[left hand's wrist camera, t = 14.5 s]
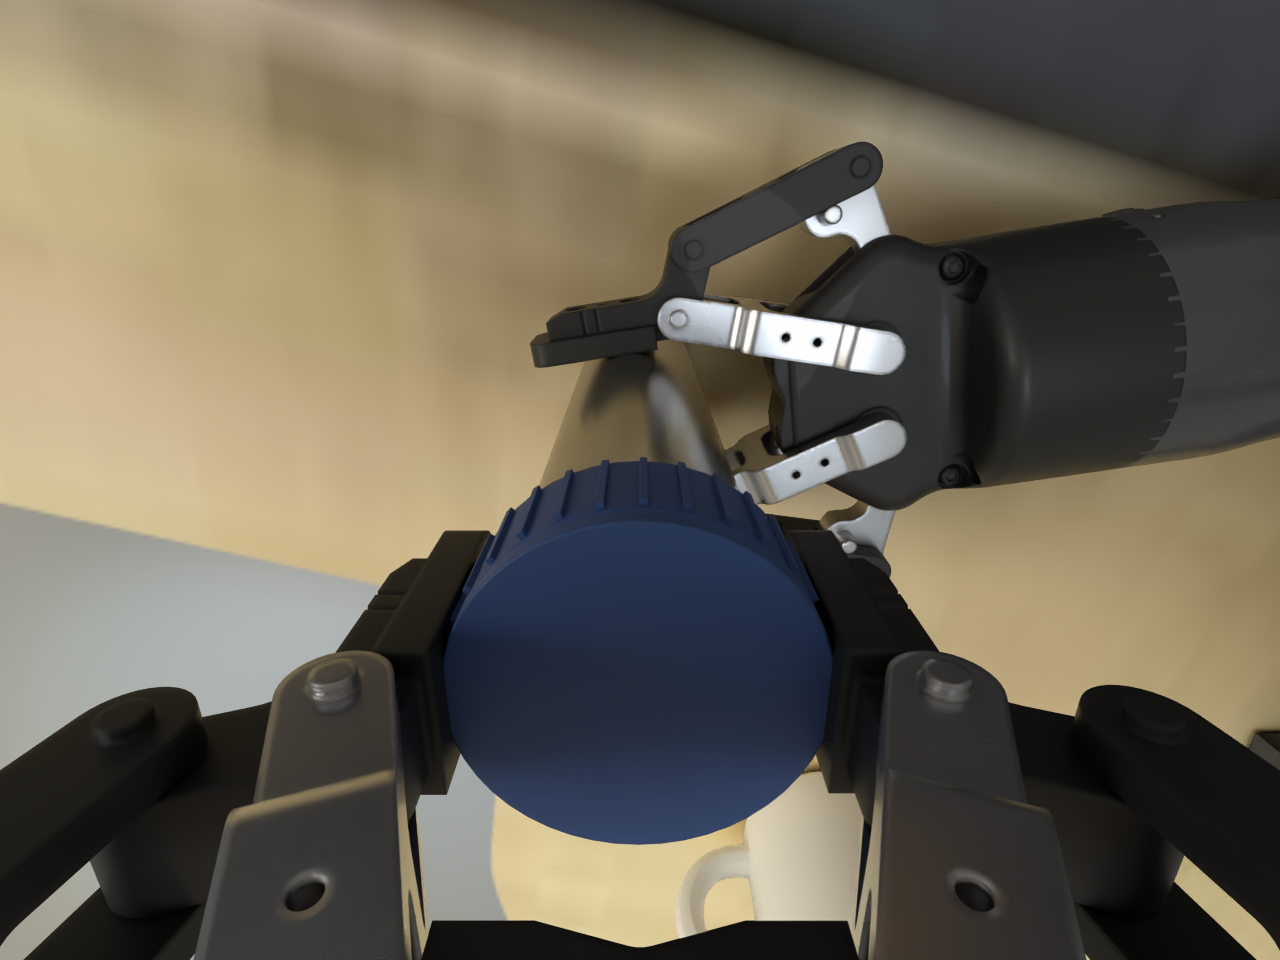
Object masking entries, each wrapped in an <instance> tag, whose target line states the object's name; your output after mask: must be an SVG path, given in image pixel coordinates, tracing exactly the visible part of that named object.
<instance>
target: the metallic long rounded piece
mask: <svg viewBox="0 0 1280 960" xmlns="http://www.w3.org/2000/svg"><path fill="white" fill-rule="evenodd" d="M657 346H658V350H654V351H648V352H641V353H634V354H626V355H620V356H616V357H609V358H603V359H596V360H590V361H584V364H583V367H582V370H581V372H580V375H579V378H578V381H577V383H576V386H575V389H574V392H573V394H572V397H571V400H570V403H569V405H568V408H567V411H566V414H565V416H564V419H563V422H562V425H561V427H560V430H559V433H558V436H557V438H556V441H555V444H554V447H553V449H552V452H551V455H550V458H549V460H548V463H547V466H546V469H545V471H544V474H543V477H542V480H541V482H540V485H539V486H540V487H541V489H542V488H544V487H545V486H547V485H549V484H550V483H552V482H554V481H556V480H558V479H560V478H563V477H564V475H565V472H566V471H568V470H570V469H572V470H573V472H577V471H580V470H583V469H587V468H590V467H593V466H598V465H601V462H602V460H609V463H614V462H628V461H640V457H647V461H649V462H663V463H668V464H674V465H677V463H678V461H680V462H684V463H685V466H686V467H687V468H691V469H694V470H697V471H700V472H703V473H706V474H708V475H710V476H712V475H713V474H714V473H716V474H719V475H720V476H721V479H722V481H723V482H725V483H727V484H729V485H730V486H732V487H733V488H735V489H736V490H738V491H739V488H738V485H737V483H736V480H735V477H734V474H733V472H732V469H731V466H730V463H729V461H728V458H727V455H726V453H725V450H724V447H723V444H722V442H721V439H720V436H719V433H718V431H717V428H716V425H715V423H714V420H713V417H712V414H711V412H710V409H709V406H708V403H707V401H706V398H705V395H704V392H703V390H702V387H701V384H700V382H699V379H698V376H697V373H696V371H695V368H694V365H693V362H692V360H691V357H690V354H689V352H688V349H687V347H686V345H685V343H684V342H681V341H675V340H671V339H668V340H662V341H657ZM739 492H740V491H739Z"/></svg>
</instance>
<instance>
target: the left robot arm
mask: <svg viewBox="0 0 1280 960" xmlns="http://www.w3.org/2000/svg"><path fill="white" fill-rule="evenodd" d="M489 534H491V533H490V532H489V531H445V532H444V533H443V534H442V536H441V537H440V539H439V541H438V542H437V544H436V546H435V547H434V549H433V550H432V552H431V554H430V555H429V557H428V559H412V560H410V561H409V562H407V563H406V564H404V565H403V566H401V567H400V568H398V569H397V570H395V571H394V572H392V573H391V574H390V575H389V576H388V578H387V579H386V580H385V582H384V583H383V585H382V586H381V588H380V589H379V591H378V595H375V596H374V598H373V599H372V601H371V602H370V604H369V605H368V610H365V611H364V612H363V614H362V615H361V617H360V618H359V619H358V621H357V622H356V624H355V625H354V627H353V628H352V630H351V631H350V632H349V634H348V635H347V637H346V638H345V640H344V641H343V643H342V644H341V645H340V647H339V648H338V650H337V651H336V653H333V654H329V655H325V656H322V657H319V658H316V659H314V660H312V661H310V662H307V663H305V664H304V665H302V666H300V667H298V668H297V669H295V670H294V671H292V672H291V673H290V674H289V675H287V676H286V677H285V678H284V679H283V680H282V681H281V683H280V684H279V685H278V687H277V688H276V690H275V692H274V695H273V700H272V702H268V703H265V704H262V705H258V706H254V707H250V708H245V709H240V710H235V711H231V712H225V713H220V714H216V715H211V716H206V717H202V716H201V712H200V709H199V705H198V702H197V700H196V697H195V696H194V695H193V694H192V693H191V692H189V691H187V690H184V689H181V688H175V687H156V688H148V689H143V690H138V691H134V692H131V693H127V694H124V695H121V696H118V697H116V698H113V699H111V700H108V701H106V702H104V703H101V704H99V705H98V706H96V707H94V708H92V709H90V710H88V711H87V712H85V713H83V714H82V715H80V716H79V717H77V718H76V719H74V720H73V721H71V722H70V723H68V724H67V725H66V726H64V727H63V728H61V729H60V730H58V731H57V732H55V733H54V734H52V735H51V736H49V737H48V738H47V739H45V740H44V741H42V742H41V743H39V744H38V745H36V746H35V747H33V748H32V749H30V750H29V751H28V752H26V753H25V754H23V755H22V756H20V757H19V758H17V759H16V760H14V761H13V762H12V763H10V764H9V765H7V766H6V767H4V768H3V769H1V770H0V946H1V945H2V943H3V942H4V940H5V939H6V938H7V936H8V935H9V934H10V933H11V932H12V931H13V929H14V928H15V927H16V926H18V925H19V923H21V922H22V921H23V920H24V919H25V918H26V917H27V916H28V915H30V914H31V913H32V912H33V911H34V910H35V909H36V908H37V907H38V906H40V905H41V904H42V903H43V902H44V901H45V900H46V899H47V898H48V897H50V896H51V895H52V894H53V893H54V892H55V891H56V890H57V889H59V888H60V887H61V886H62V885H63V884H64V883H65V882H66V881H67V880H69V879H70V878H71V877H72V876H73V875H74V874H75V873H76V872H77V871H79V870H80V869H81V868H82V867H83V866H84V865H85V864H86V863H88V862H89V861H90V862H91V865H92V867H93V870H94V872H95V875H96V877H97V880H98V882H99V885H100V888H99V889H98V890H97V891H96V892H95V893H93V894H92V895H91V896H90V897H89V898H88V899H87V900H86V901H85V902H84V903H83V904H82V905H81V906H80V907H79V908H78V909H77V910H76V911H74V912H73V913H72V914H71V915H70V916H69V917H68V918H67V919H66V920H65V921H64V922H63V923H62V924H61V925H60V926H59V927H58V928H57V929H55V930H54V931H53V932H52V933H51V934H50V935H49V936H48V937H47V938H46V939H45V940H44V941H43V942H42V943H41V944H40V945H39V946H38V947H37V948H35V949H34V950H33V951H32V952H31V953H30V954H29V955H28V956H27V957H26V958H25V959H24V960H190V959H191V957H192V956H193V955H194V954H195V956H194V960H1086V956H1085V954H1086V955H1087V956H1088V957H1089V959H1090V960H1256V959H1255V958H1254V957H1253V956H1252V955H1251V954H1250V953H1249V952H1248V951H1247V950H1246V949H1245V948H1244V947H1242V946H1241V945H1240V944H1239V943H1238V942H1237V941H1236V940H1235V939H1234V938H1233V937H1232V936H1231V935H1230V934H1229V933H1228V932H1227V931H1226V930H1225V929H1223V928H1222V927H1221V926H1220V925H1219V924H1218V923H1217V922H1216V921H1215V920H1214V919H1213V918H1212V917H1211V916H1210V915H1209V914H1208V913H1207V912H1206V911H1204V910H1203V909H1202V908H1201V907H1200V906H1199V905H1198V904H1197V903H1196V902H1195V901H1194V900H1193V899H1192V898H1191V897H1190V896H1189V895H1188V894H1187V893H1185V892H1184V891H1183V890H1182V889H1181V888H1180V887H1179V886H1178V885H1177V884H1176V883H1175V882H1174V880H1175V877H1176V875H1177V872H1178V870H1179V867H1180V865H1181V862H1182V860H1183V857H1184V855H1185V856H1186V857H1187V858H1188V859H1189V860H1190V861H1191V862H1192V863H1194V864H1195V865H1196V866H1197V867H1198V868H1199V869H1200V870H1201V871H1203V872H1204V873H1205V874H1206V875H1207V876H1208V877H1209V878H1210V879H1211V880H1213V881H1214V882H1215V883H1216V884H1217V885H1218V886H1219V887H1220V888H1221V889H1223V890H1224V891H1225V892H1226V893H1227V894H1228V895H1229V896H1230V897H1231V898H1233V899H1234V900H1235V901H1236V902H1237V903H1238V904H1239V905H1240V906H1242V907H1243V908H1244V909H1245V910H1246V911H1247V912H1248V913H1249V914H1250V915H1252V916H1253V917H1254V918H1255V919H1256V920H1257V921H1258V922H1259V923H1260V924H1261V925H1262V926H1263V927H1264V928H1265V929H1266V931H1267V932H1268V933H1269V934H1270V936H1271V937H1272V938H1273V940H1274V941H1275V943H1276V945H1277V946H1278V948H1279V950H1280V770H1279V769H1277V768H1276V767H1274V766H1273V765H1271V764H1270V763H1268V762H1267V761H1266V760H1264V759H1263V758H1261V757H1260V756H1258V755H1257V754H1255V753H1254V752H1252V751H1251V750H1250V749H1248V748H1247V747H1245V746H1244V745H1242V744H1241V743H1239V742H1238V741H1236V740H1235V739H1233V738H1232V737H1231V736H1229V735H1228V734H1226V733H1225V732H1223V731H1222V730H1220V729H1219V728H1217V727H1216V726H1215V725H1213V724H1212V723H1210V722H1209V721H1207V720H1206V719H1204V718H1203V717H1201V716H1200V715H1199V714H1197V713H1195V712H1194V711H1192V710H1191V709H1189V708H1187V707H1185V706H1183V705H1182V704H1180V703H1178V702H1176V701H1173V700H1171V699H1169V698H1167V697H1164V696H1162V695H1159V694H1156V693H1153V692H1150V691H1146V690H1143V689H1139V688H1134V687H1129V686H1121V685H1102V686H1097V687H1093V688H1091V689H1089V690H1087V691H1085V692H1084V693H1083V694H1082V696H1081V698H1080V701H1079V704H1078V708H1077V711H1076V715H1075V717H1074V716H1069V715H1064V714H1060V713H1055V712H1050V711H1045V710H1040V709H1035V708H1031V707H1026V706H1021V705H1017V704H1013V703H1009V702H1008V699H1007V695H1006V692H1005V690H1004V688H1003V687H1002V685H1001V684H1000V683H999V681H998V680H997V679H996V678H995V677H994V676H993V675H991V674H990V673H989V672H988V671H986V670H985V669H983V668H982V667H980V666H978V665H976V664H975V663H973V662H971V661H968V660H966V659H964V658H961V657H958V656H955V655H951V654H947V653H943V652H939V650H938V649H937V647H936V646H935V644H934V643H933V641H932V640H931V639H930V637H929V636H928V634H927V633H926V631H925V630H924V628H923V627H922V625H921V624H920V622H919V621H918V620H917V618H916V617H915V615H914V614H913V612H912V611H911V609H908V605H907V603H906V602H905V601H904V599H903V598H902V596H901V595H900V594H898V590H897V589H896V587H895V586H894V584H893V583H892V581H891V580H890V579H889V577H888V576H887V574H886V573H885V572H883V571H882V570H880V569H879V568H877V567H876V566H874V565H873V564H871V563H870V562H868V561H867V560H865V559H864V558H848V556H847V555H846V553H845V551H844V550H843V548H842V547H841V545H840V543H839V542H838V540H837V538H836V537H835V535H834V533H833V532H832V531H831V530H787V532H786V534H785V539H786V541H787V543H788V542H790V541H792V543H793V545H794V547H795V549H796V551H797V554H798V556H799V558H800V560H801V562H802V564H803V566H804V569H805V571H806V573H807V575H808V577H809V579H810V581H811V584H812V586H813V588H814V590H815V592H816V594H817V596H818V599H819V600H818V601H816V602H813V603H814V605H815V608H816V610H817V612H818V614H819V617H820V619H821V621H822V623H823V626H824V628H825V630H826V632H827V634H828V638H829V641H830V645H831V648H832V652H833V664H832V673H831V681H830V689H829V697H828V705H827V713H826V721H825V729H824V736H823V741H822V743H821V745H820V747H819V749H818V750H817V752H816V756H817V759H818V763H819V766H820V769H821V772H822V775H823V778H824V781H825V784H826V787H827V790H828V793H855V796H856V799H857V801H858V804H859V807H860V809H861V812H862V815H863V820H862V827H861V833H860V845H859V856H858V867H857V879H856V890H855V902H854V913H853V924H852V934H851V930H850V927H849V924H848V921H742V922H739V923H735V924H731V925H728V926H724V927H720V928H716V929H713V930H709V931H705V932H702V933H698V934H694V935H691V936H687V937H683V938H679V939H676V940H672V941H668V942H665V943H661V944H657V945H654V946H649V947H631V946H626V945H623V944H619V943H615V942H612V941H608V940H604V939H601V938H597V937H593V936H589V935H586V934H582V933H578V932H575V931H571V930H567V929H564V928H560V927H556V926H552V925H549V924H545V923H541V922H538V921H432V924H431V927H430V930H429V934H428V924H427V913H426V902H425V890H424V879H423V867H422V856H421V845H420V833H419V827H418V820H417V814H416V805H417V802H418V800H419V797H420V795H447V792H448V789H449V786H450V783H451V780H452V777H453V774H454V771H455V768H456V765H457V762H458V759H459V756H460V751H459V749H458V747H457V745H456V743H455V742H454V740H453V737H452V731H451V724H450V716H449V708H448V701H447V693H446V685H445V677H444V668H443V655H444V651H445V648H446V644H447V641H448V637H449V634H450V632H451V630H452V627H453V626H451V624H450V618H451V616H452V614H453V612H454V610H455V608H456V605H457V603H458V601H459V599H460V597H461V595H462V593H463V592H462V591H463V589H464V587H465V584H466V582H467V580H468V578H469V576H470V574H471V572H472V569H473V567H474V565H475V563H476V561H477V559H478V557H479V555H480V552H481V550H482V548H483V546H484V544H485V542H486V540H487V538H488V536H489Z"/></svg>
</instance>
